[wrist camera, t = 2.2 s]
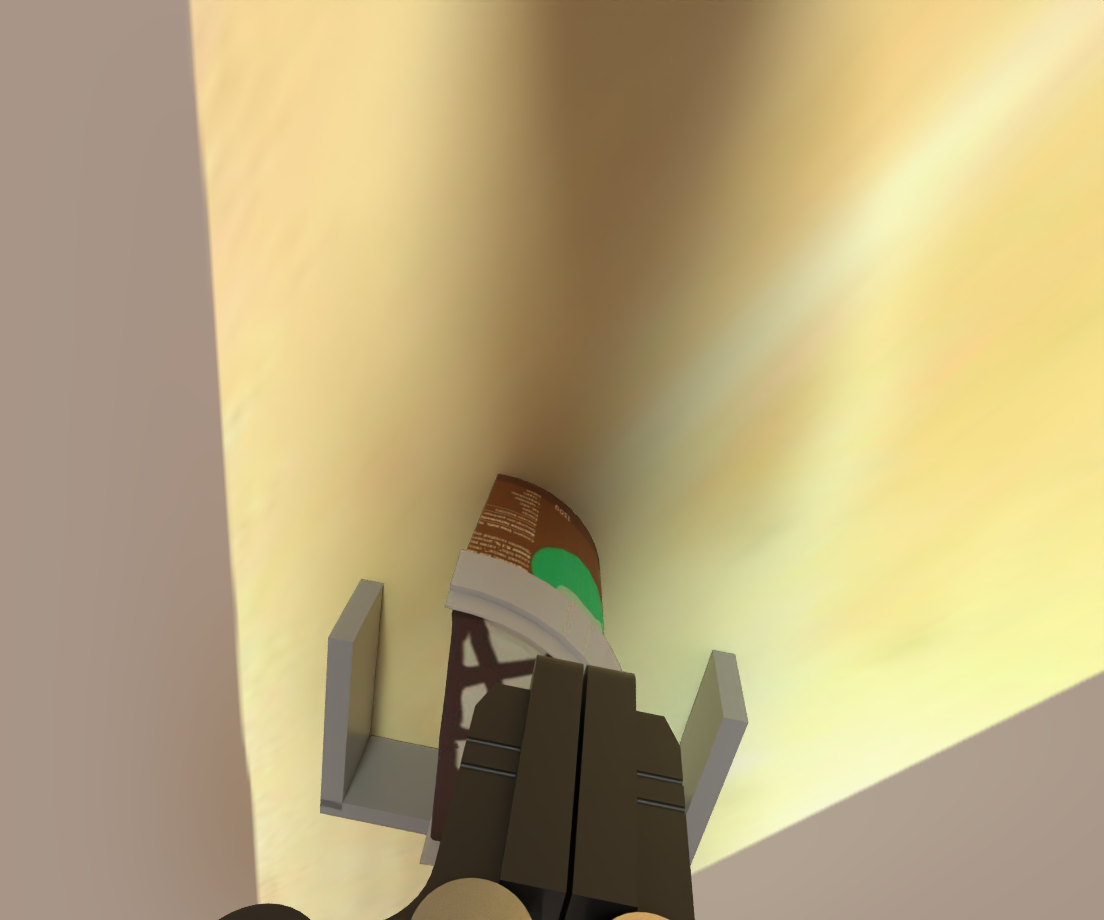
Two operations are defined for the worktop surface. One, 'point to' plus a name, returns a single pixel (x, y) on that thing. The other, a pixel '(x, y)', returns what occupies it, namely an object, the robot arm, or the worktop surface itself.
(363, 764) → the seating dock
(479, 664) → the food container
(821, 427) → the worktop surface
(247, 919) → the robot arm
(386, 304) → the worktop surface
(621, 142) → the worktop surface
